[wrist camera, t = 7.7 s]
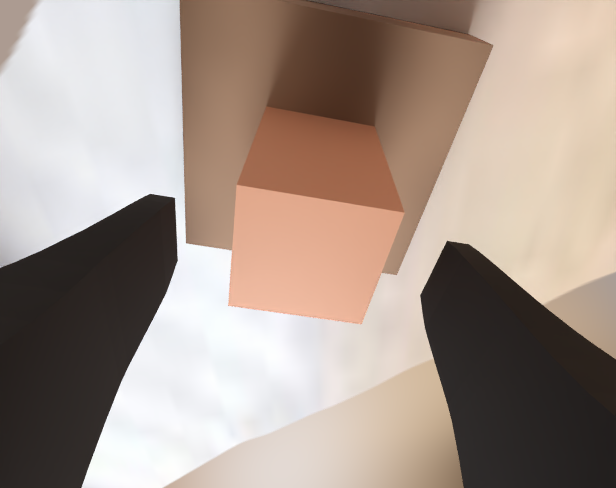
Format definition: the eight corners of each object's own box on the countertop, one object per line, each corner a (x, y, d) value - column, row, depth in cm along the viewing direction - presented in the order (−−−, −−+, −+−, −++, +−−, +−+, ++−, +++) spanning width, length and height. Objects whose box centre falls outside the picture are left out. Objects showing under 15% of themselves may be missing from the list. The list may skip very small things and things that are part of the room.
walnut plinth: (200, 214, 19) (186, 243, 17) (200, -23, 13) (179, -21, 11) (389, 244, 20) (396, 275, 18) (468, 34, 14) (493, 45, 12)
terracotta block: (256, 201, 16) (228, 305, 11) (266, 106, 13) (236, 185, 9) (348, 217, 16) (361, 324, 11) (374, 126, 14) (404, 212, 9)
